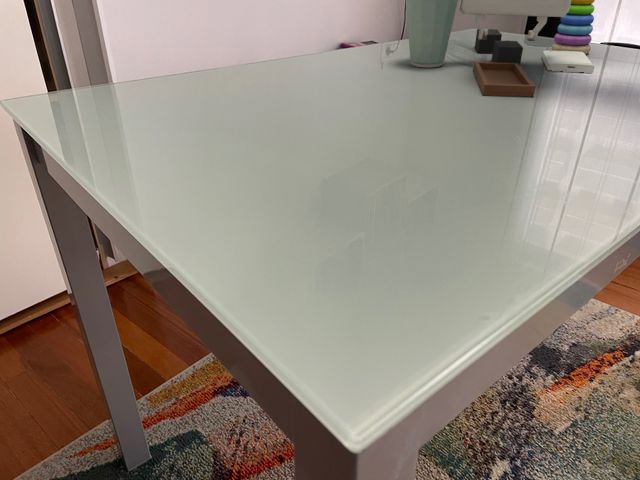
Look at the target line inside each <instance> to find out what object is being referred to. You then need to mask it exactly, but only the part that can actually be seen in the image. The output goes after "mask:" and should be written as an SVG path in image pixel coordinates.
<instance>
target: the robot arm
mask: <svg viewBox="0 0 640 480" xmlns="http://www.w3.org/2000/svg"><path fill="white" fill-rule="evenodd" d="M570 4H571V0H459V2H458V10H459V11H460V13H461V14H462V15H472V16H473V15H474V16H475V18H474V20H475V23H476V25H477V27H478V29H480V30H479V37H478V38H479V39H481V40H482V39H483V40H487V34H488V30H487V29H488V28H484V26H483V23H482V22H484V21H485V18H486V17H485V16H509V17H513V16H515V17H516V16H517V17H536V22H538V23H537V24H536V26H535V27H534V28H533V29H531V30H530V29H529V30H528V32H527V37H526V40H527V41H528V42H537V40H538V37H539V36H538V34H539V33H540V32H541V30H542V29H543V28H544V27H545V25H546V24H547V22H548V18H549V17H550V18H551V17H553V18H561V17H564V16H565V15H566V14H567V13H568V12H569V9H570Z"/></svg>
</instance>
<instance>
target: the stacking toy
mask: <svg viewBox="0 0 640 480" xmlns="http://www.w3.org/2000/svg"><path fill="white" fill-rule="evenodd" d="M595 1H596V0H571V4H570V9H569V12H568V13H567V14H566V15H565V16H564V17H560V22H561V23H559V25H558V26H557V32H558V33H555V35H554V42H553V43H552V45H551V51H577V52H583V53H584V54H585V55H587V54H589V53H590V52H591V50H592V49H591V47H592V46H591V45H590V43H592V35H591V34H592V33H593V31H594V27H593V22H594V21H595V16H594V15H593V13H594V12H595V5H593V4H594V3H595Z"/></svg>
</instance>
